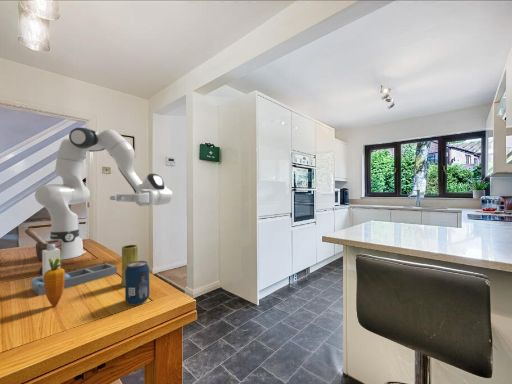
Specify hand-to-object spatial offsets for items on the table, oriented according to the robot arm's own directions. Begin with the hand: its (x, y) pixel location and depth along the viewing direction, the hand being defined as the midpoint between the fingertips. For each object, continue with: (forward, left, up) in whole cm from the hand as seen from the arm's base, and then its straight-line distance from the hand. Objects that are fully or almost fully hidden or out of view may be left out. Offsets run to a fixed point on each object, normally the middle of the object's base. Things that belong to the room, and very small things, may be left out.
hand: (115, 198), depth 109 cm
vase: (+26, -7, -32) cm, 42 cm away
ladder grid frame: (+6, -17, -32) cm, 37 cm away
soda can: (+42, -13, -32) cm, 55 cm away
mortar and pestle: (-18, -21, -32) cm, 42 cm away
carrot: (+24, -29, -32) cm, 50 cm away
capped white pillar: (+6, -25, -32) cm, 41 cm away
